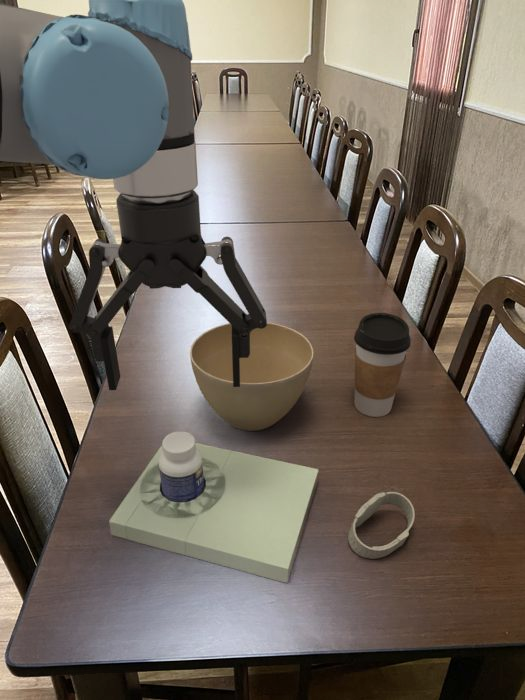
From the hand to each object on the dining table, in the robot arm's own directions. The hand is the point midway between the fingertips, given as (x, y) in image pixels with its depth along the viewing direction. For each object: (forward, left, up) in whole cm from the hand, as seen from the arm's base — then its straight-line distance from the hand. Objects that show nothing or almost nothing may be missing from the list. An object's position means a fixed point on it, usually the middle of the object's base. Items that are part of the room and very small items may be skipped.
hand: (176, 381), depth 60 cm
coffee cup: (+21, +27, -19) cm, 39 cm away
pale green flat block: (+5, 0, -19) cm, 19 cm away
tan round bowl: (+3, +19, -19) cm, 27 cm away
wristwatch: (+25, +1, -19) cm, 31 cm away
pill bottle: (0, 0, -19) cm, 19 cm away
